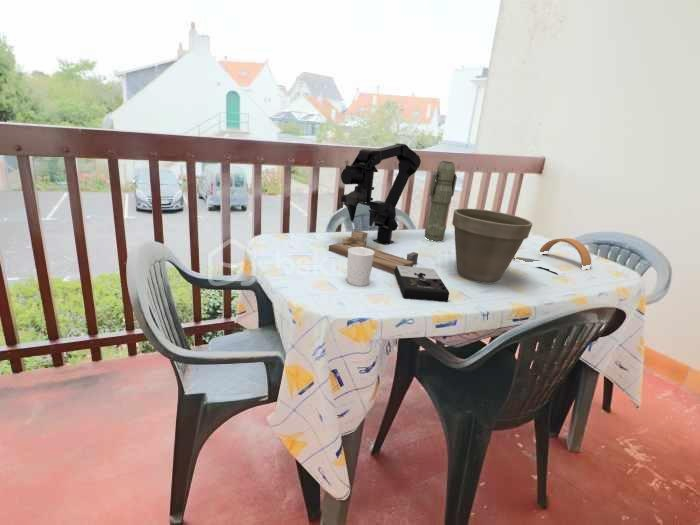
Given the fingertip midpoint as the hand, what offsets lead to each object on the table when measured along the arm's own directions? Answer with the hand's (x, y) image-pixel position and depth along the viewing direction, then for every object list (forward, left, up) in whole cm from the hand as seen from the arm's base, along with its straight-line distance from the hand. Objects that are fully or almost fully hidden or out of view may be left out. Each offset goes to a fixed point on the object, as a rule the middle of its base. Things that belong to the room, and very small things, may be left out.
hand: (360, 223), depth 148 cm
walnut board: (+6, +12, -9) cm, 16 cm away
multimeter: (+17, +38, -10) cm, 43 cm away
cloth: (-44, +58, -10) cm, 74 cm away
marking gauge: (+4, 0, -10) cm, 10 cm away
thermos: (-40, +13, -10) cm, 43 cm away
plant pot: (-10, +46, -10) cm, 48 cm away
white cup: (+30, +24, -10) cm, 39 cm away
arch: (-61, +63, -10) cm, 88 cm away
